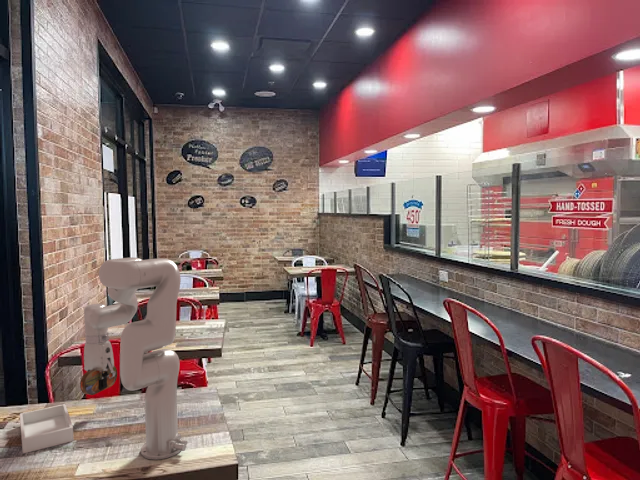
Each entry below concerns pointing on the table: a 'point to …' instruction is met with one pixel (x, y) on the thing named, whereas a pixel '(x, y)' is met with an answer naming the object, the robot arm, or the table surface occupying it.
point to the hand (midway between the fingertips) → (99, 387)
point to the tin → (95, 381)
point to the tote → (45, 428)
